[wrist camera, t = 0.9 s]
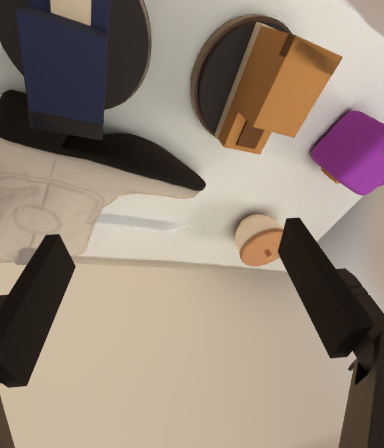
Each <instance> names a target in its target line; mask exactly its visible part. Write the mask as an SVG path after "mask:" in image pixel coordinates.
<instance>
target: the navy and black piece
mask: <svg viewBox="0 0 384 448" xmlns="http://www.w3.org/2000/svg"><path fill="white" fill-rule="evenodd" d="M0 42H1V44H2V46H3V48H4V50H5V51H6V53H7V55H8V56H9V58H10V60H11V61H12V62H13V64H14V65H15V66H16V68H17V69H18V70H19V71H20V72H21V74H22V75H23V76H24V79H25V86H26V94H27V101H28V114H29V122H30V127H31V128H35V129H40V130H46V131H52V132H57V133H63V134H68V135H74V136H80V137H85V138H91V139H97V140H102V139H103V123H104V119H103V117H104V109H108V108H111V107H114V106H116V105H118V104H120V103H121V102H123V101H124V100H126V99H127V98H128V97H129V96H130V95H131V94H132V93H133V92H134V91H135V89H136V88H137V86H138V85H139V83H140V81H141V79H142V77H143V74H144V72H145V69H146V64H147V60H148V50H149V41H148V30H147V24H146V20H145V15H144V12H143V9H142V6H141V3H140V1H139V0H0Z"/></svg>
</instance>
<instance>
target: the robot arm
mask: <svg viewBox="0 0 384 448" xmlns="http://www.w3.org/2000/svg"><path fill="white" fill-rule="evenodd" d="M278 254H279V256H280V258H281V260H282V262H283V264H284V266H285V268H286V270H287V272H288V274H289V276H290V278H291V280H292V282H293V284H294V286H295V288H296V290H297V292H298V294H299V296H300V298H301V300H302V302H303V304H304V306H305V308H306V310H307V312H308V314H309V316H310V318H311V321H312V323H313V324H314V326H315V329H316V331H317V332H318V334H319V337H320V339H321V341H322V343H323V345H324V347H325V349H326V351H327V353H328V355H329V357H330V358H340V357H347V356H348V355H349V354H350V353H351V352H352V351H353V352H354V354H355V356H356V357H357V359H356V360H355V361H354V362H353V363H352V364H351V365H350V367H349V368H348V370H350V371H351V370H352V369H353V368H354V369H353V375H352V379H351V385H350V390H349V395H348V401H347V406H346V411H345V417H344V422H343V428H342V433H341V438H340V443H339V448H384V313H383V312H382V311H381V309H380V308H379V307H378V305H377V304H376V303H375V301H374V300H373V299H372V298H371V296H370V295H368V293H367V291H366V290H365V288H363V287H362V285H361V283H360V282H359V281H358V279H357V278H356V277H355V276H354V275H353V274H352V273H350V272H349V271H348V270H346V269H345V268H344V269H335V267H334V266H333V265H332V263H331V262H330V260H329V259H328V258H327V256H326V255H325V253H324V252H323V251H322V249H321V248H320V246H319V245H318V244H317V242H316V241H315V239H314V238H313V236H312V235H311V233H310V232H309V231H308V229H307V228H306V226H305V225H304V224H303V222H302V221H301V219H300V218H287V219H286V222H285V226H284V230H283V233H282V237H281V241H280V244H279V248H278ZM74 269H75V264H74V262H73V260H72V258H71V256H70V254H69V252H68V250H67V248H66V246H65V244H64V242H63V240H62V238H61V236H60V234H51V235H45V237H44V238H43V240H42V242H41V243H40V245H39V246H38V248H37V250H36V251H35V253H34V254H33V256H32V258H31V259H30V261H29V262H28V264H27V266H26V267H25V269H24V270H23V272H22V274H21V275H20V277H19V279H18V280H17V282H16V283H15V285H14V286H13V288H12V290H11V291H10V293H9V294H8V295H1V296H0V383H2V384H4V385H5V386H7V387H21V386H27V384H28V382H29V379H30V377H31V374H32V372H33V370H34V367H35V365H36V362H37V360H38V357H39V355H40V352H41V350H42V347H43V345H44V343H45V340H46V337H47V335H48V333H49V330H50V328H51V326H52V323H53V321H54V318H55V316H56V313H57V311H58V308H59V306H60V304H61V301H62V299H63V296H64V294H65V291H66V289H67V286H68V284H69V282H70V279H71V277H72V274H73V272H74ZM0 448H15V447H14V443H13V440H12V436H11V432H10V429H9V426H8V422H7V419H6V415H5V411H4V408H3V404H2V401H1V397H0Z"/></svg>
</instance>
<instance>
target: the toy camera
mask: <svg viewBox="0 0 384 448" xmlns="http://www.w3.org/2000/svg"><path fill="white" fill-rule="evenodd" d="M311 156H312V158H313V159H314V160H315V162H316V163H318V164H319V165H320V166H321V167H322V169H321V170H322V171H323V172H324V173H325V174H326V175H327V176H328V177H329V178H330V179H332V180H333V181H334V182H335V183H337V184H339V183H341V184H343V185H344V186H346V187H347V188H349V189H350V190H351V191H353V192H355V193H356V194H359V195H366V194H368V193H370V192H371V191H373V190H374V189H375V188H377V187H378V186H381V185H384V124H383V123H381V122H379V121H377V120H375V119H373V118H371V117H369V116H368V115H366V114H363V113H361V112H359V111H350V112H348V113H347V114H346V115H344V116H343V117H342V118H341V119H340V120H339V121H338V123H337V124H336V125H335V126H334V127H333V128H332V129H331V130H330V131H329V132H328V133H327V134H326V135H325V136H324V137H323V138H322V139H321V141H320V142H319V143H318V144H317V145H316V146H315V147H314V148H313V150H312V152H311Z"/></svg>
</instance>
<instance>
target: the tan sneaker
mask: <svg viewBox="0 0 384 448" xmlns="http://www.w3.org/2000/svg"><path fill="white" fill-rule="evenodd" d="M341 59H342V56H340V55H337V54H335V53H333V52H331V51H329V50H327V49H324V48H322V47H320V46H318V45H316V44H313V43H311V42H309V41H307V40H305V39H303V38H300V37H298V36H296V35H293V34H291V33H289V32H288V31H287V30H286V29H285V28H283V27H281V26H280V25H277V24H274V23H271V22H264V21H258V22H251V23H247V24H245V25H242V26H240V27H238V28H236V29H234V30H233V31H231V32H230V33H229V34H227V35H226V36H225V37H224V38H223V39H222V40H221V41H220V42H219V43H218V44H217V45H216V47H215V48H214V49H213V51H212V52H211V54H210V55H209V57H208V59H207V61H206V63H205V65H204V67H203V70H202V73H201V77H200V81H199V88H198V103H199V109H200V113H201V115H202V118H203V120H204V122H205V123H206V125H207V127H208V128H209V129H210V130H211V132H213V133H214V134H215V137H216V138H217V139H218V140H219V141H220V142H221V144H222V145H223V146H224V147H226V148H231V149H236V150H241V151H246V152H251V153H255V154H260V153H261V151H262V149H263V148H264V146H265V144H266V142H267V140H268V138H269V136H270V134H271V132H275V133H279V134H283V135H287V136H291V137H295V136H296V134H297V132H298V130H299V129H300V127H301V125H302V124H303V122H304V120H305V119H306V117H307V115H308V114H309V112H310V110H311V109H312V107H313V105H314V104H315V102H316V100H317V99H318V97H319V95H320V94H321V92H322V90H323V89H324V87H325V85H326V84H327V82H328V80H329V79H330V77H331V76H332V74H333V73H334V71H335V69H336V68H337V66H338V64H339V63H340V61H341Z"/></svg>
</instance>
